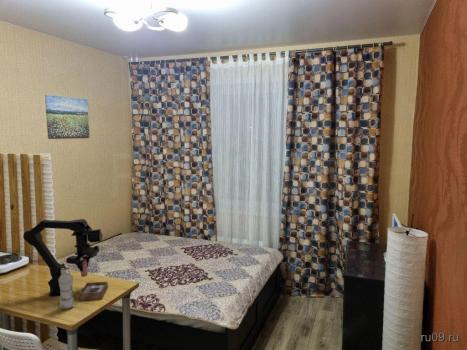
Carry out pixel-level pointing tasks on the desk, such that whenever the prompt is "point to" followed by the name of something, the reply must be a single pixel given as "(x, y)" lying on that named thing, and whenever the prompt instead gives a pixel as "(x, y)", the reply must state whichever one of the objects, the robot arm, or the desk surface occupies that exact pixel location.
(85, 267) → the peg
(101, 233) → the robot arm
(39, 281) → the desk surface
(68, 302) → the plastic bottle
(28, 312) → the desk surface
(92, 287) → the square frame
